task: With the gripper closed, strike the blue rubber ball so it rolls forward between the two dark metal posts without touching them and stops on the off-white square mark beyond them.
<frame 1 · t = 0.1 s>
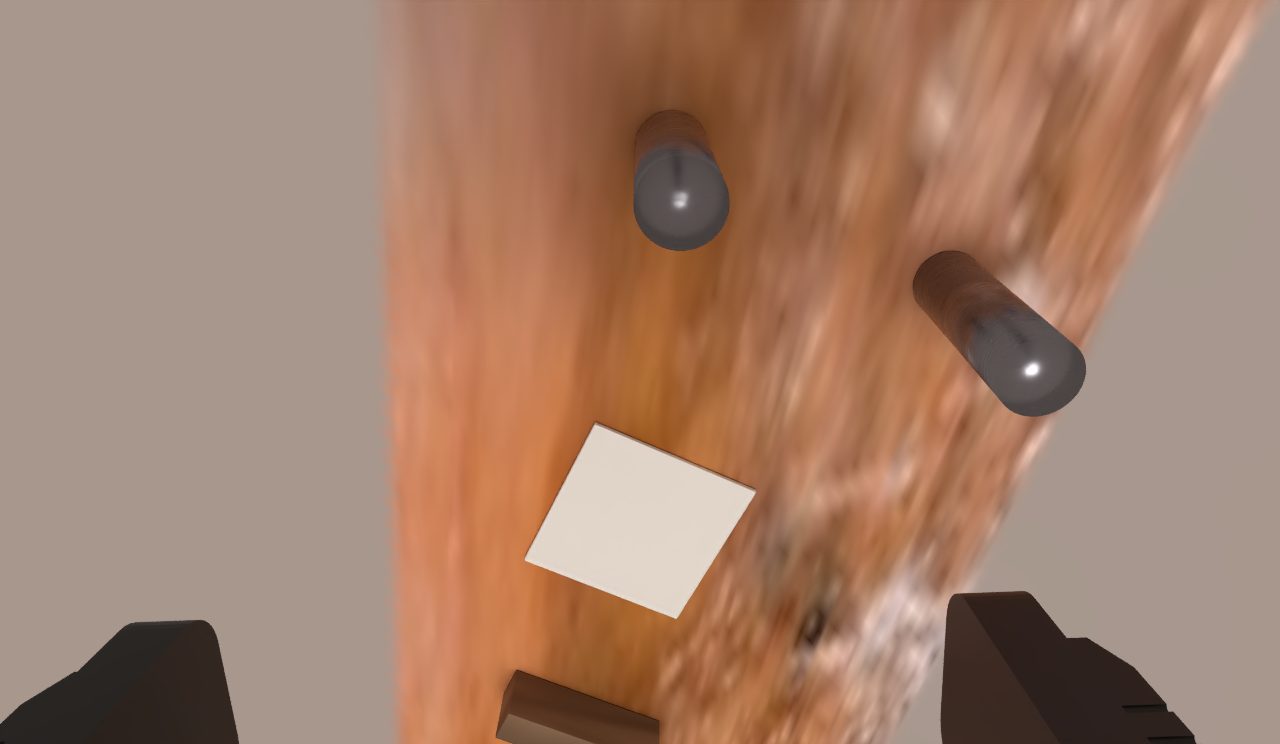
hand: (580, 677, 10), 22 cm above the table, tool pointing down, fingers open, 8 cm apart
post 2: (947, 283, 31), on the table
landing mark: (637, 524, 35), on the table
post 1: (671, 147, 29), on the table
stopper wall: (582, 707, 39), on the table
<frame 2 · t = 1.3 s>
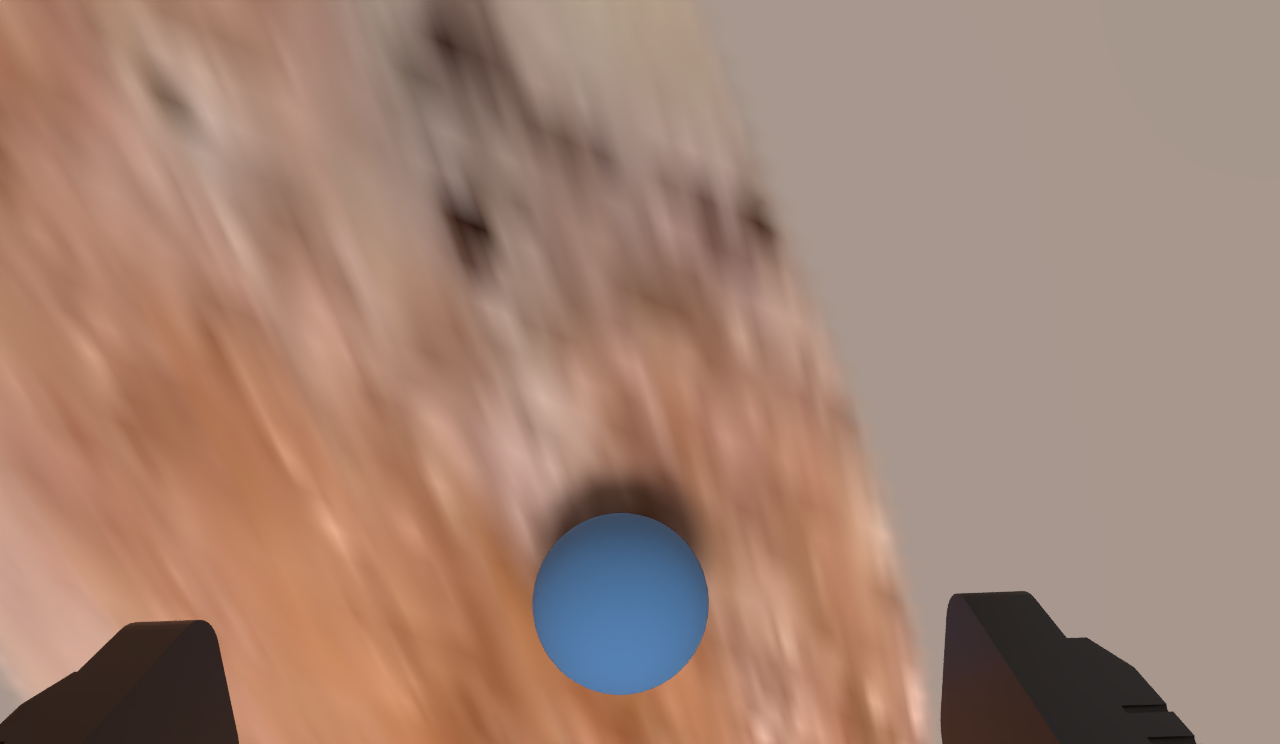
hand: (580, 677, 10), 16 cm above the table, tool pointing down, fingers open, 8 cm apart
ball: (620, 601, 25), on the table
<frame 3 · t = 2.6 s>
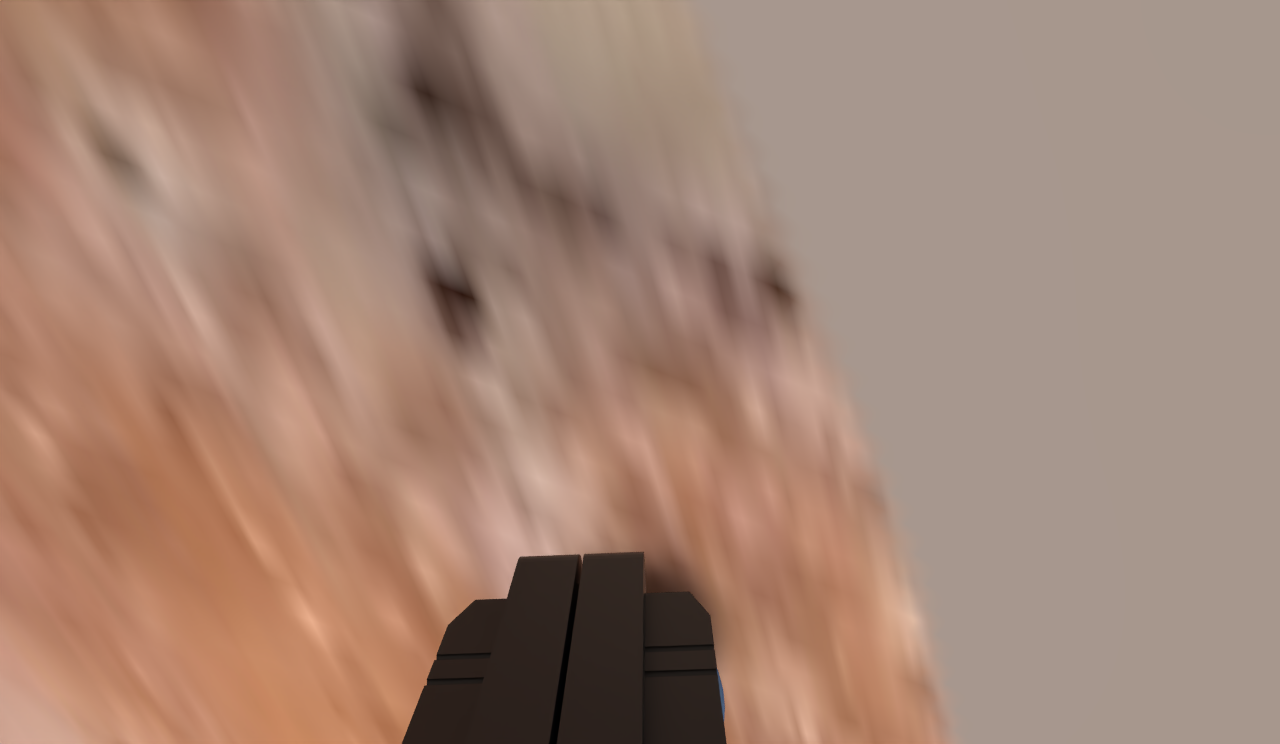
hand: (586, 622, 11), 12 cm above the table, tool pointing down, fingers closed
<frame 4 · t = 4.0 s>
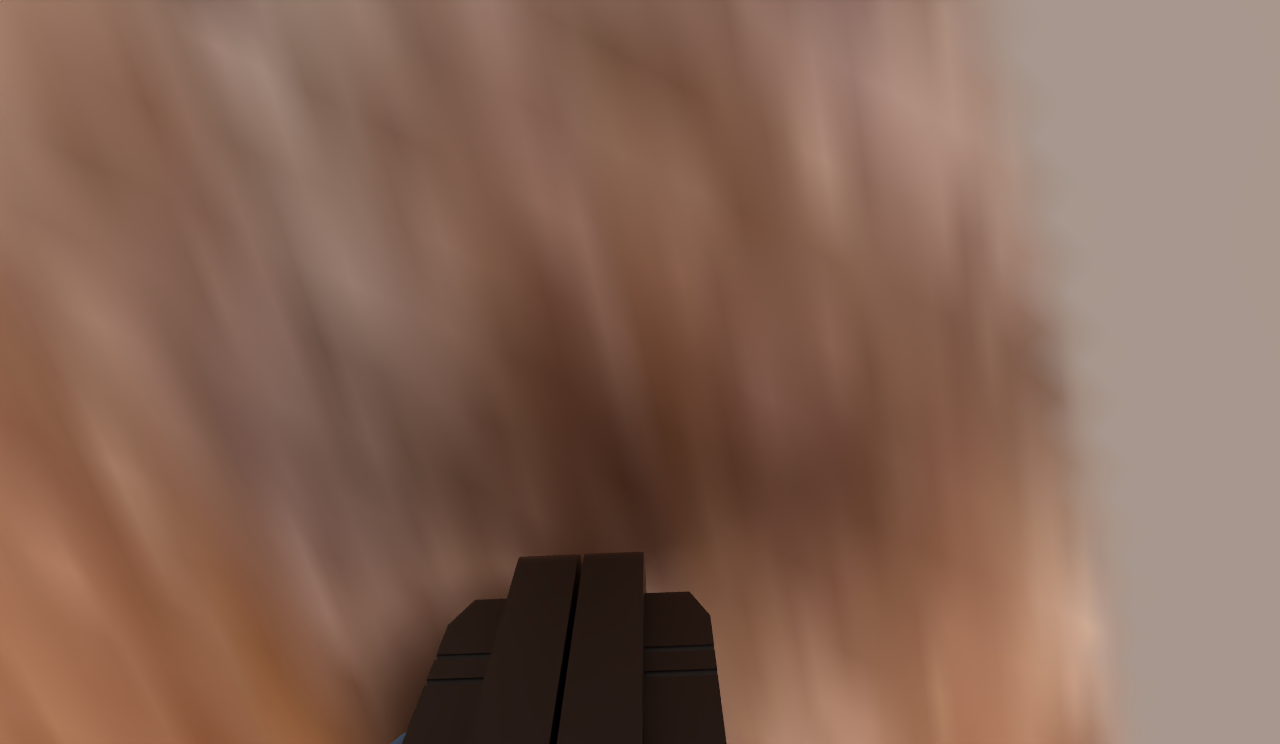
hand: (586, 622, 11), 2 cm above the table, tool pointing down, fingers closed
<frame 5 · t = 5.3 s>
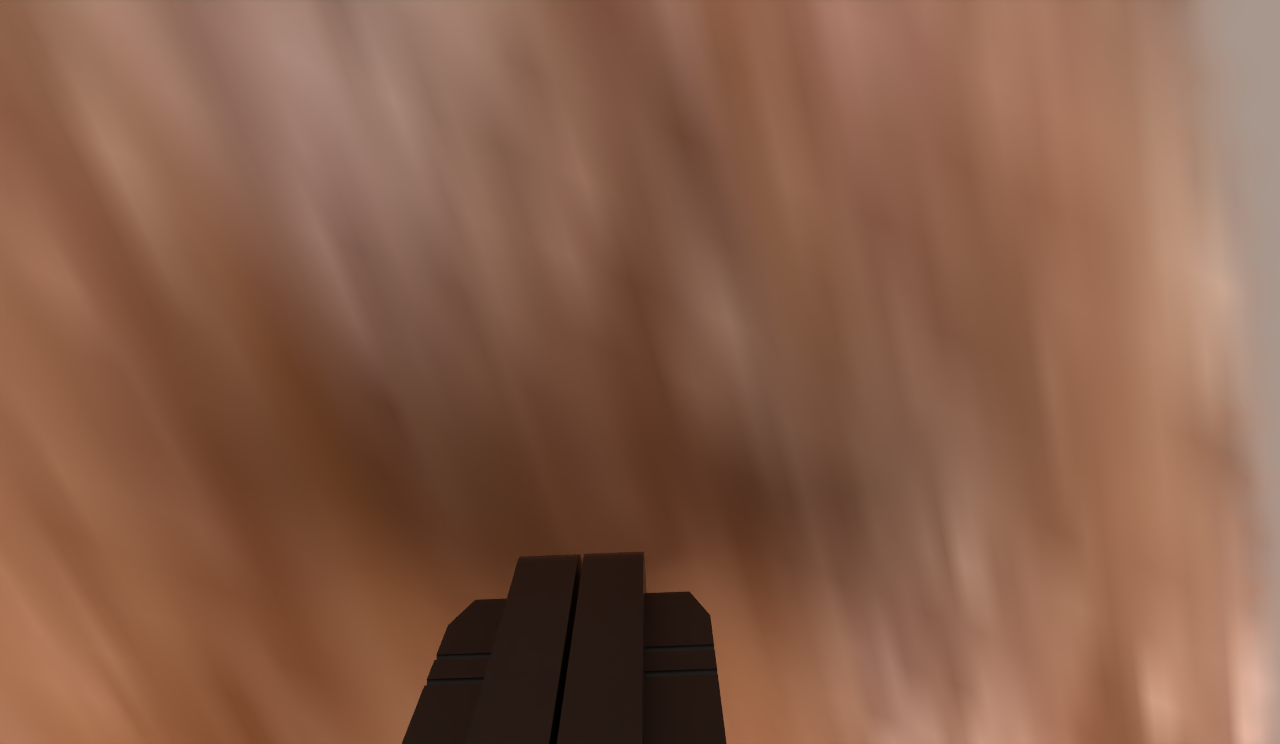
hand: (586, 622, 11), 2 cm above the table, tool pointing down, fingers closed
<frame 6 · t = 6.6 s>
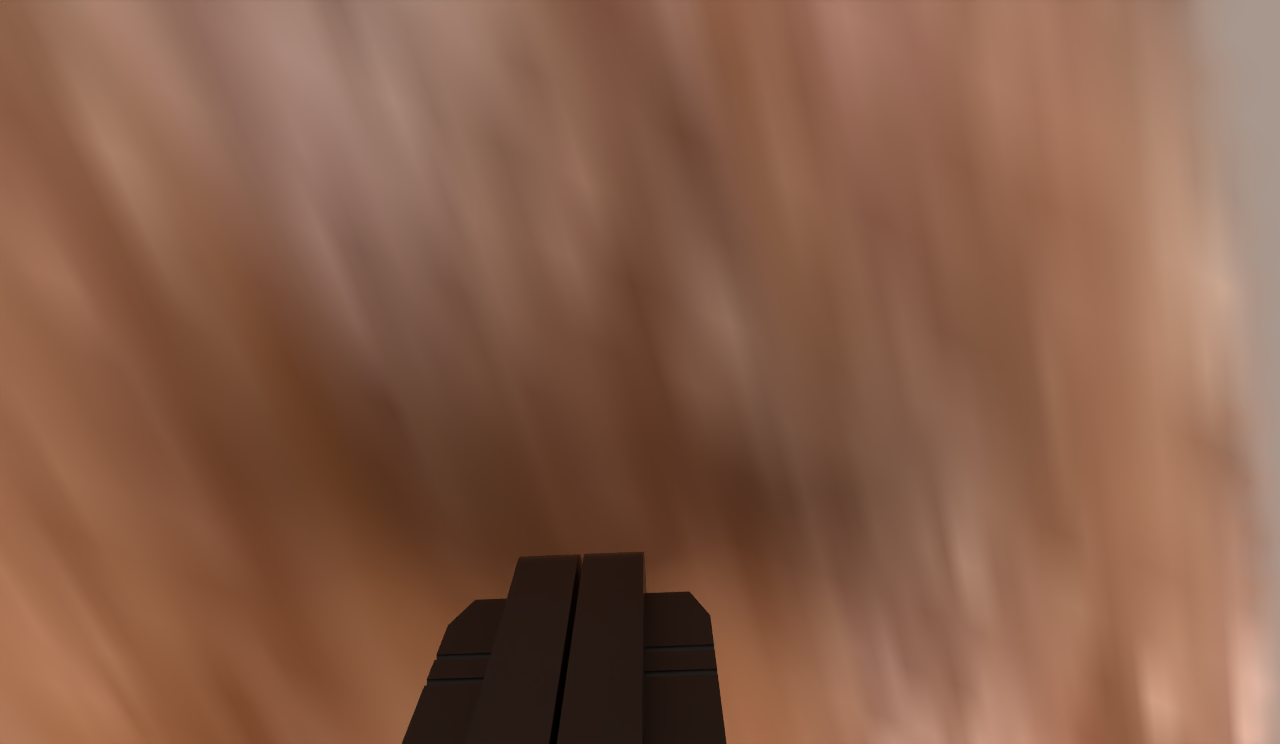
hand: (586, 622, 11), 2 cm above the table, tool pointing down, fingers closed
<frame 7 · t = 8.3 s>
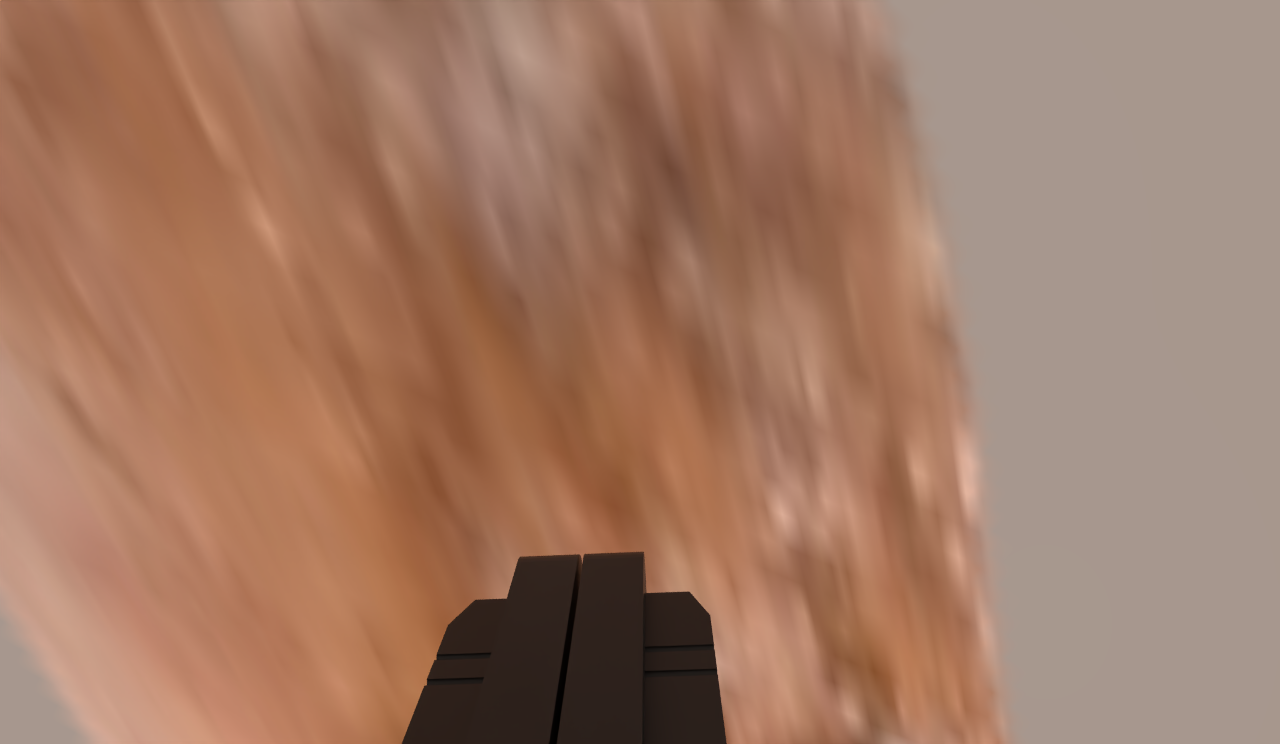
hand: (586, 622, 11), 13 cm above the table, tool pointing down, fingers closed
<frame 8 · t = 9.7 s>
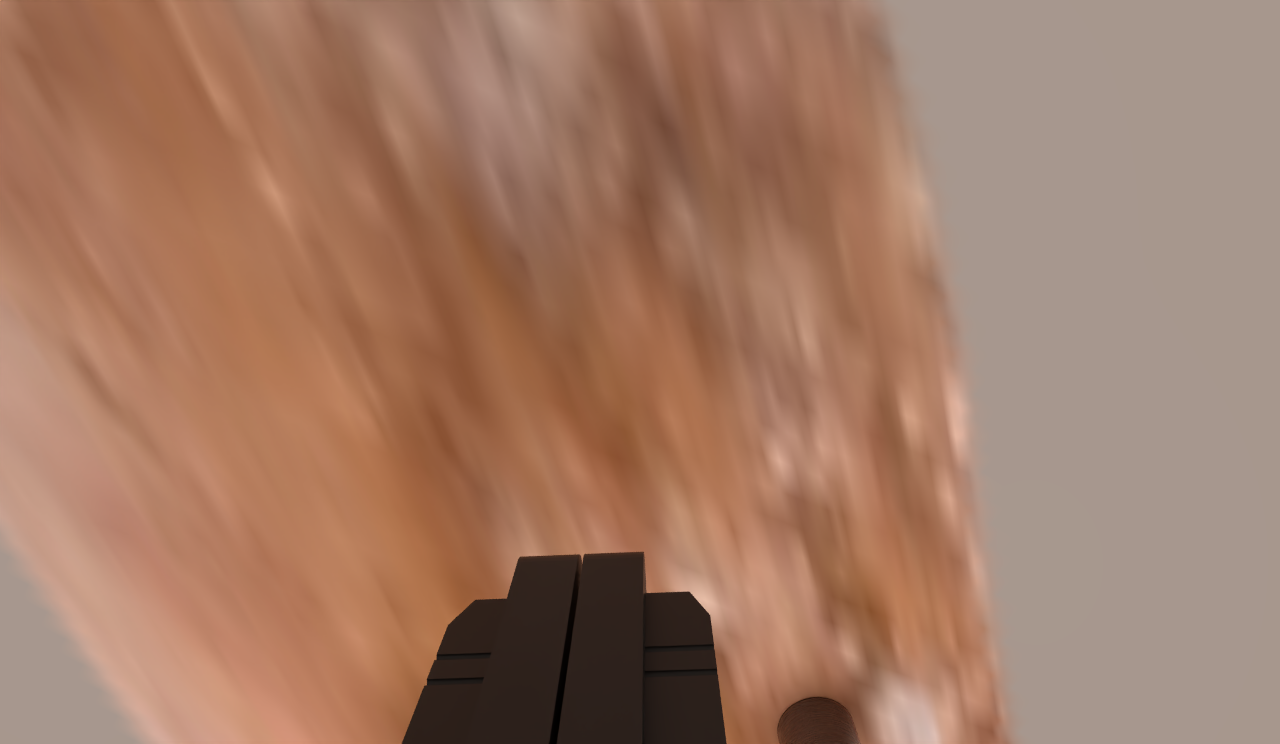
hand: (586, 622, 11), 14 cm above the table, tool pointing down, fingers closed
post 2: (815, 730, 28), on the table
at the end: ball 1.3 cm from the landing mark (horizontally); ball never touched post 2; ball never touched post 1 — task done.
